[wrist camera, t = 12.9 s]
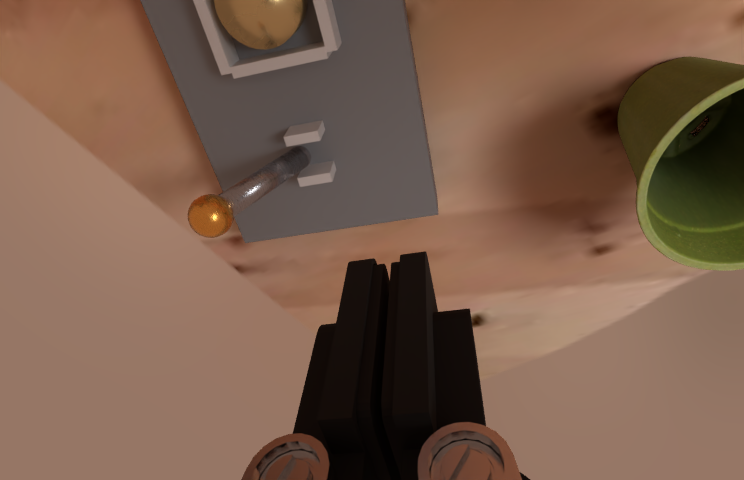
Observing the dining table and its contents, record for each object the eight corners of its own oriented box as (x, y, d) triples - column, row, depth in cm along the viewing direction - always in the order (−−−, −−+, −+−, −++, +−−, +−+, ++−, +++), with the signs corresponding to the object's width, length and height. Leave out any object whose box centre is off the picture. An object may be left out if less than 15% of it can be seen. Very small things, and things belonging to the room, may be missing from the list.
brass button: (292, -60, 27) (284, -58, 26) (317, 33, 30) (311, 39, 28) (212, -39, 28) (199, -36, 27) (242, 49, 31) (232, 57, 29)
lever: (315, 136, 33) (197, 211, 27) (325, 170, 34) (215, 249, 28) (289, 134, 34) (171, 205, 28) (299, 167, 36) (190, 241, 30)
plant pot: (604, 17, 31) (684, 59, 22) (796, 21, 31) (962, 66, 21) (563, 181, 38) (611, 266, 29) (720, 187, 37) (821, 277, 28)
